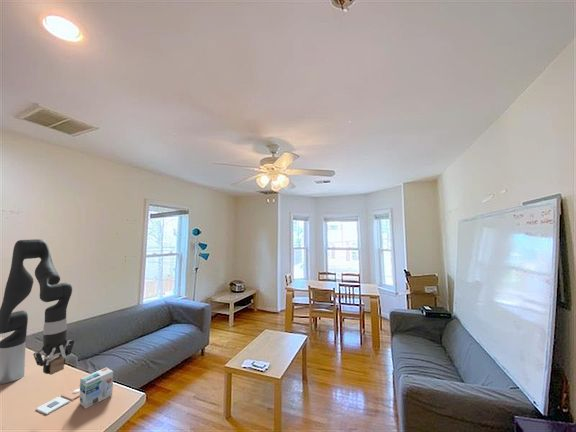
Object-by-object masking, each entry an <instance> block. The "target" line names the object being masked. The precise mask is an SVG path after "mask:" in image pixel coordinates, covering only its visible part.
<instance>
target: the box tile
mask: <svg viewBox="0 0 576 432" xmlns="http://www.w3.org/2000/svg"><path fill="white" fill-rule="evenodd" d="M70 402H71V400H69V399H67V398H64V397H62V396H57V397H55V398H53V399H51V400H49V401H47V402H45V403H43V404H41V405H40V406H37V407H36V408H35V411H38V412H40V413H42V414H45V415H50V414H51V413H53V412H55V411H56V410H58V409H60V408H62V407H63V406H65V405H67V404H69V403H70Z"/></svg>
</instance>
